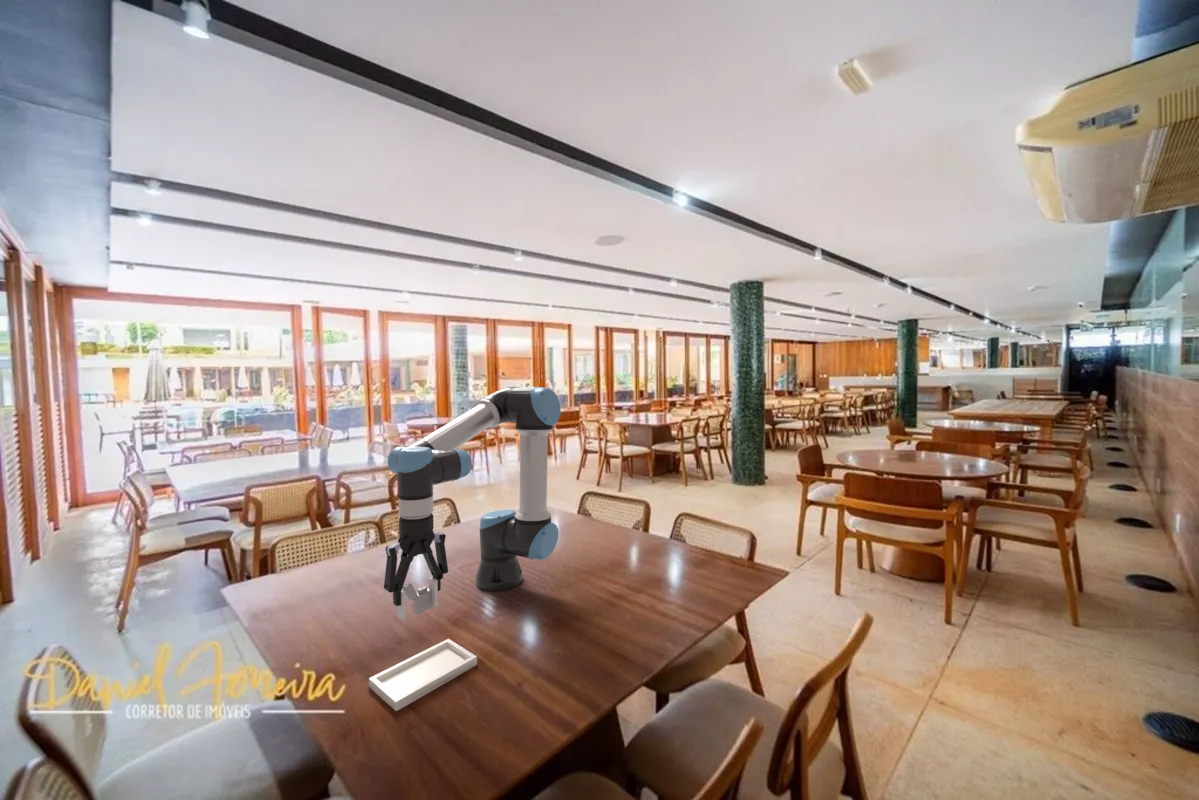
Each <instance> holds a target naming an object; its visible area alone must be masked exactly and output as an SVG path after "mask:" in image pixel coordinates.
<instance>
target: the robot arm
mask: <svg viewBox="0 0 1199 800" xmlns="http://www.w3.org/2000/svg"><path fill="white" fill-rule="evenodd" d="M560 417H561V402H560V399H559V397H558V395H557V394H556V392H555V391H554V389H551V388H550V387H544V386H543V387H541V386H507V387H505V388H501V389H498V390H496V391H494V392H492V393H490V394H488V395H486V396H484V397H482V398H481V399H480V400H477V402H476V403H475V405H474V407H473V408H471V409H469V410H467V411H466V412H464V413H463V414H461V415H459V416H458V417H456V418H454V419H452V420H450V422H448V423H446V424H444V425H443V426H441V427H439V428H438V429H437V430H436V429H435V431H433V432H431V433H430V434H428V435H426V436H425V437H423V438H422V439H420V440H417V441H416V442H414V443H413V444H411V445H409V446H406V445H402V446H397V447H394V448H393V449H392V450H391V451H390V453H389V455H388V457H387V466H388V468H389V470H390V471H391V473H393V474H395V475H397V491H398V492H397V494H398V498H397V499H398V503H397V504H398V506H397V508H398V516H400V517H399V518H398V534H399V538H398V541H397V542H396V543H394V544H393V545H387V546H385V549H384V550H385V553H386V565H385V573H384V584H383V589H384V590H385V591H386V592H389V593H392V603H393V605H394V606H396V617H397V618H399V620H402V621H405V620H407V608H406V606H407V605H406V603H407V602H406V599H407V598H406V597H407V595H406V593H405V591H404V589H403V586H404V585H405V583H406V579H407V575H408V572H409V570H410V566H411V563H412V562H413V560H414V559H415V557H417V556H418V555H422V556H423V558H424V560H425V562H426V564H427V566H428V567H427V568H428V570H429V571H430V574H431V576H430V577H428V588H429V589H432V608H438V607H439V592H440V591H441V587H442V586H441V583H442V582H441V580H442V579H443V578H444V575H446V574H448V572H449V566H448V559H447V558H448V557H447V551H446V546H445V545H446V544H445V543H446V534H445V533H443V532H440V531H437V532H436V533H435V532H434V525H435V524H434V514H433V512H434V486H436V485H439V484H444V483H447V482H452V481H457V480H461V479H462V478H464V477H467V476H468V475H469V473H471V470H472V462H473V461H472V458H471V456H470V454H469V452H468V451H466V450H465V449H463V448H460V447H461V446H463V445H464V444H466V443H467V442H469V441H471V440H472V439H473V438H474V437H476V436H477V435H479V434H480V433H482V432H484V431H486V430H487V429H488V428H495V427H497V426H498V425H500V424H506V423H507V424H508V423H513V424H515V431H516V432H517V433H518V434H519V435H520V440H519V441H520V443H519V444H520V445H519V446H520V448H519V450H520V452H519V453H520V455H519V505H518V506H519V508H518V511H517V512H516V510H514V509H500V510H494V511H491V512H488V513H486V514H484V515H482V516H481V517H480V520H479V540H480V541H479V543H480V545H479V546H480V562H479V565H478V569H477V572H476V575H475V585H476V587H478V588H479V589H481V590H484V591H489V592H490V591H491V592H495V591H496V592H497V591H505V590H509V589H512V588H515V587H516V586H518V585H519V584H521V582H522V581H523V570H522V568H521V565H520V563H519V560H518V557H520V558H521V557H522V558H526V559H530V560H532V561H533V560H535V561H536V560H537V561H543V560H546V559H548V558H549V557H550V556H551V555H552V553H553V552H554V550H555V548H556V547H557V544H558V540H559V528H558V526H557V525H556V523H554V522H552V514H551V513H550V511H548V510H547V508H548V506H547V505H548V503H547V502H548V500H547V499H548V450H549V449H548V447H549V446H548V445H549V444H548V443H549V441H548V440H549V437H548V436H549V434H550V433H552V432H553V426H554V425H555V424H557V423H558V422H559V419H560ZM433 542H434V547H435V553H436V559H435V556H434V552H433V550H432V547H431V545H432V543H433ZM400 550H402V551H401V554H400V560H399V561H400V562H399V564H398V554H399V551H400ZM397 565H398V566H397Z"/></svg>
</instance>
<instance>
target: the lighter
mask: <svg viewBox="0 0 1199 800" xmlns="http://www.w3.org/2000/svg"><path fill="white" fill-rule="evenodd" d="M402 589H403V590H404V591H405V594H406V597H407V599H408V600H409V601H413V614H416V615H420V614H422V613H424V612H425V611H428V610H429V609H431V608H433V606H432V589H429V587H428V586H424V585H423V586H421V587H419V588H417V591H416V590H415V588H414V585H413V584H412V583H411V582H405V583H404V585H403V588H402Z"/></svg>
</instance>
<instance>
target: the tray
mask: <svg viewBox="0 0 1199 800" xmlns="http://www.w3.org/2000/svg"><path fill="white" fill-rule="evenodd" d="M477 665H478V656H477V655H475V654H474V653H473V652H470V651H469V650H467V649H466V648H464V647H463V646H461V645H460V644H457V643H456V641H455V642H454V641H453V640H451V639H450V638H447V639H445V640H443V641H441V642H439V643H436V644H435V645H433V646H431V647H429V648H427V649H425V650H422V651H420V652H419V653H417V654H415V655H413V656H411V657H408V658H407V659H405V660H403V661H401V662H399V663H397V664H395V665H393V666H391V667H389V668H387V669H385V670H382V671H381V672H379V673H376V674H375V675H373V676H370V677H369V678H368V687H369V688H370V689H371V690H372V691H373V692H374V693H375V694H376V695H377V696H379V697H380V699H382V700H383V702H385V703H386V704H388V706H390V707H391V709H393V710H394V711H395V712H398V711H399V710H401V709H403V708H404V707H407V706H408V705H410V704H411V703H413V702H415V701H417V700H418V699H420V698H422V697H424V696H426V695H427V694H429V693H431V692H432V691H434V690H436V689H438V688H439V687H442V686H443V685H444V684H446V683H448V682H449V681H452V680H453V679H455V678H457V677H458V676H460V675H462V674H463V673H465V672H468V671H469V670H471V669H473V668H474V667H476V666H477Z"/></svg>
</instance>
